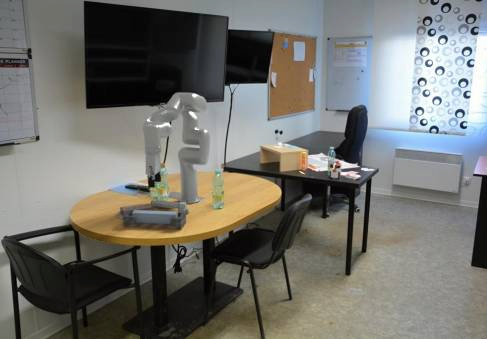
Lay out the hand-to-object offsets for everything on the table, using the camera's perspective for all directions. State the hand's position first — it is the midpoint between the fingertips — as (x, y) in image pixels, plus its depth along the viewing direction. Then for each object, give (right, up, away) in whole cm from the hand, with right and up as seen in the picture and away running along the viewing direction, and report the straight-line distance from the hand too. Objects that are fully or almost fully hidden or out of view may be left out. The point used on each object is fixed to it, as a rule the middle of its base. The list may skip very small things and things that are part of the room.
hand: (154, 184), depth 208 cm
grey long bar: (+3, -15, +25) cm, 30 cm away
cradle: (-1, -20, +4) cm, 21 cm away
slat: (0, -19, +4) cm, 19 cm away
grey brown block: (-14, -17, +19) cm, 29 cm away
